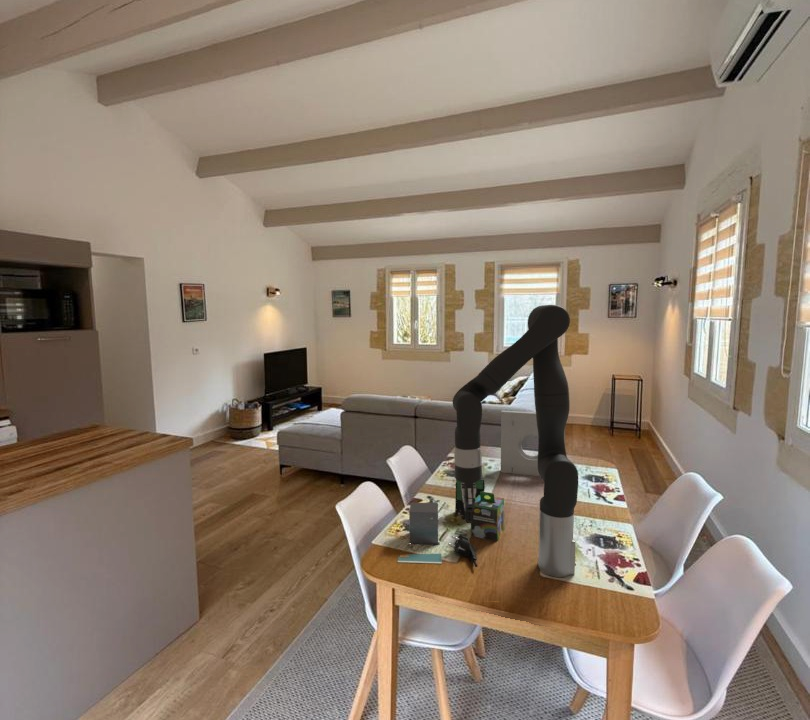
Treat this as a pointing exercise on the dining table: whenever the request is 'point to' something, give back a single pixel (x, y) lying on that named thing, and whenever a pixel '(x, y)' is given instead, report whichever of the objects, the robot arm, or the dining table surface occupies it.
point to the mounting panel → (518, 442)
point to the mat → (421, 558)
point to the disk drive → (459, 500)
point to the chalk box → (488, 517)
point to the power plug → (464, 548)
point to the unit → (423, 523)
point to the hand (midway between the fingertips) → (469, 521)
